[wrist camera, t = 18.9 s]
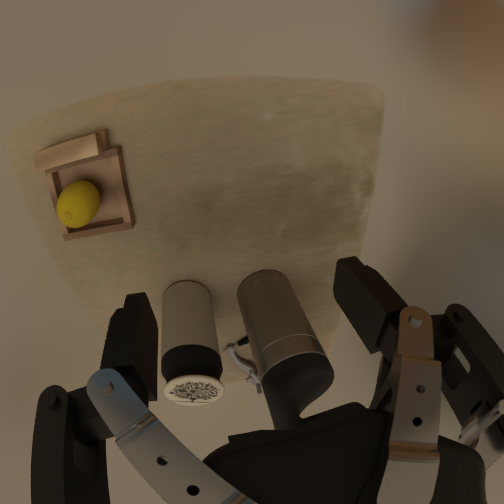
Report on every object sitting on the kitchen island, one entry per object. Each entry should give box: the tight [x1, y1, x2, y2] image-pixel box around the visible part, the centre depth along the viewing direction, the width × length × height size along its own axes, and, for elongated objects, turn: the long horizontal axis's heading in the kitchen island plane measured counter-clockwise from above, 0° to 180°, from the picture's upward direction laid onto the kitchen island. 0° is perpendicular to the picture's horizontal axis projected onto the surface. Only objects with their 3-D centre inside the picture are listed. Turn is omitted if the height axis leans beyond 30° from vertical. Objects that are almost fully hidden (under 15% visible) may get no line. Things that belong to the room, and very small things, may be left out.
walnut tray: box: [45, 145, 135, 241], centre depth 31 cm, size 11×11×3 cm
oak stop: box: [33, 129, 110, 173], centre depth 26 cm, size 2×9×5 cm, turn 92°
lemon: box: [57, 180, 100, 228], centre depth 28 cm, size 6×6×8 cm
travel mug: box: [161, 281, 224, 406], centre depth 37 cm, size 8×8×18 cm
